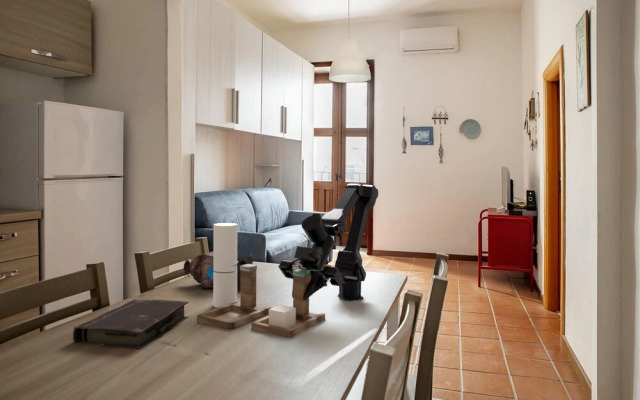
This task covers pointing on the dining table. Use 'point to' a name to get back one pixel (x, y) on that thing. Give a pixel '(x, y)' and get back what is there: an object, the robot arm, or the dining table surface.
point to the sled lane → (302, 310)
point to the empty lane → (238, 304)
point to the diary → (132, 324)
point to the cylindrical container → (225, 264)
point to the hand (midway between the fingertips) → (298, 298)
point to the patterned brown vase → (210, 269)
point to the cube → (282, 316)
